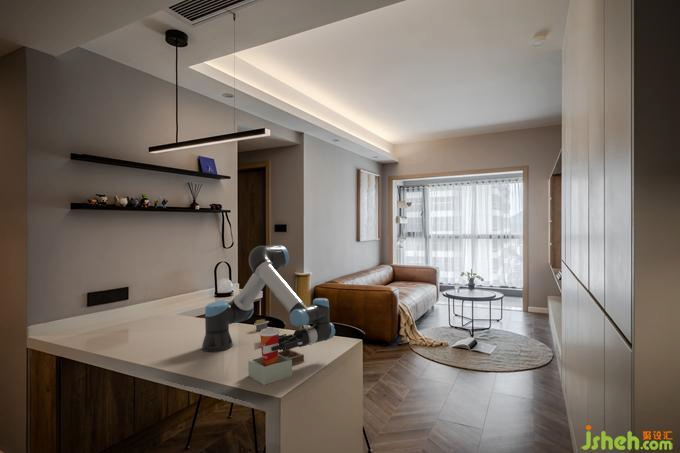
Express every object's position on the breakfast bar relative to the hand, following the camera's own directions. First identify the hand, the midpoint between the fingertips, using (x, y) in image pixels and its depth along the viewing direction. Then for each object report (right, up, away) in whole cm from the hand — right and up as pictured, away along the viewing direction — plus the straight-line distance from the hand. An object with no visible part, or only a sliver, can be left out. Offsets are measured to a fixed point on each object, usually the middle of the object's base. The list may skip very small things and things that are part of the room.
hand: (258, 348), depth 148 cm
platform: (-16, -15, +77) cm, 80 cm away
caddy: (+4, -12, +3) cm, 13 cm away
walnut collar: (+8, -13, +20) cm, 25 cm away
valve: (+17, -14, +56) cm, 60 cm away
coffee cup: (+4, -9, +3) cm, 10 cm away
